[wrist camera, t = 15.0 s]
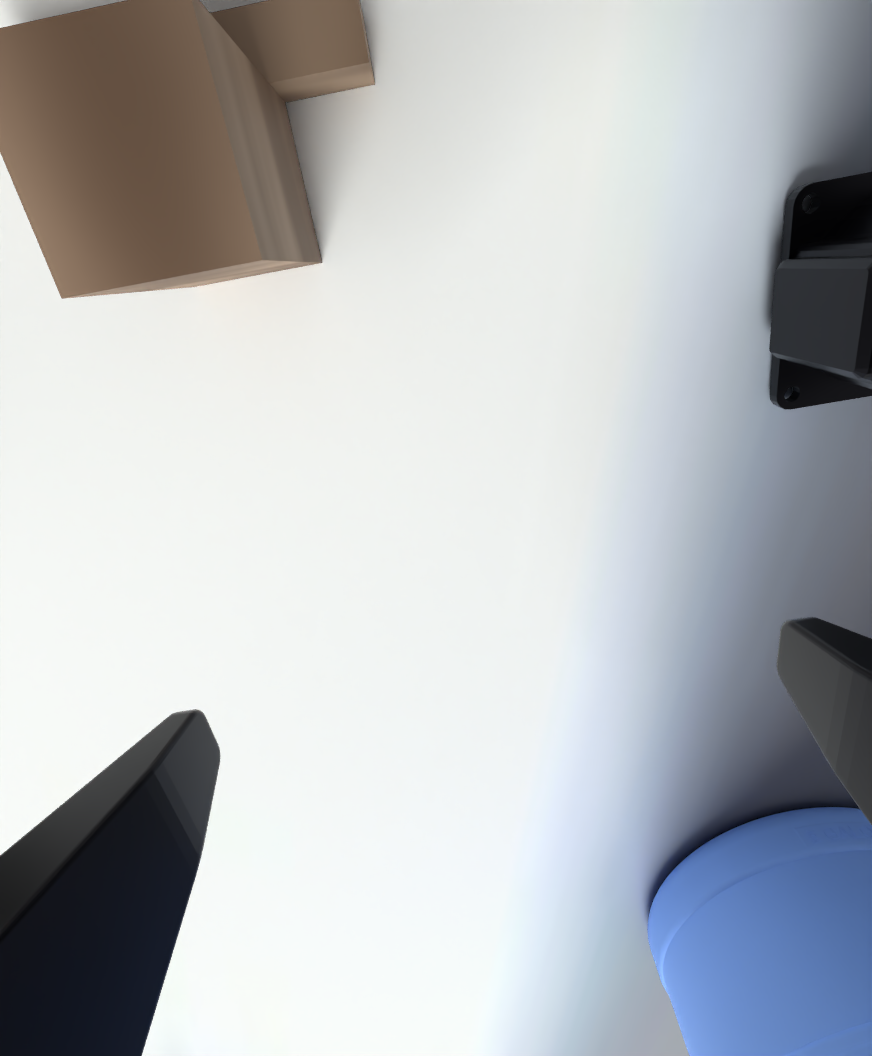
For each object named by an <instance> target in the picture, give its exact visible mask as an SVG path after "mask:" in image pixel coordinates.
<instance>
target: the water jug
mask: <svg viewBox="0 0 872 1056" xmlns="http://www.w3.org/2000/svg"><path fill="white" fill-rule="evenodd" d="M648 940H649V945H650V949H651V952H652V955H653V958H654V961H655V964H656V967H657V970H658V973H659V976H660V979H661V982H662V984H663V986H664V988H665V990H666V991H667V993H668V994H669V997H670V1000H671V1003H672V1006H673V1009H674V1012H675V1014H676V1017H677V1020H678V1023H679V1026H680V1029H681V1032H682V1035H683V1038H684V1041H685V1044H686V1047H687V1050H688V1053H689V1056H872V825H871V823H870V822H869V821H868V819H867V818H866V817H865V815H864V814H863V812H862V811H861V810H860V809H856V808H845V807H818V808H807V809H799V810H793V811H787V812H782V813H778V814H774V815H770V816H766V817H763V818H760V819H756V820H753V821H751V822H748V823H745V824H743V825H740V826H738V827H735V828H733V829H731V830H729V831H727V832H725V833H723V834H721V835H719V836H717V837H715V838H714V839H712V840H710V841H708V842H707V843H705V844H704V845H702V846H701V847H699V848H698V849H696V850H695V851H694V852H692V853H691V854H690V855H689V856H687V857H686V858H685V859H684V860H683V861H682V862H681V863H680V864H679V865H678V866H677V867H676V868H675V869H674V870H673V871H672V872H671V873H670V874H669V876H668V877H667V878H666V879H665V881H664V882H663V884H662V885H661V887H660V888H659V890H658V892H657V894H656V896H655V898H654V900H653V903H652V906H651V909H650V913H649V919H648Z"/></svg>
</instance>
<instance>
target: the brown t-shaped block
mask: <svg viewBox="0 0 872 1056" xmlns="http://www.w3.org/2000/svg"><path fill="white" fill-rule="evenodd" d="M374 84H375V81H374V75H373V70H372V64H371V58H370V52H369V47H368V41H367V35H366V29H365V24H364V18H363V12H362V8H361V4H360V0H268V1H263V2H259V3H254V4H249V5H245V6H240V7H236V8H231V9H226V10H222V11H217V12H212V13H209V11H208V10H207V9H206V8H205V7H204V5H203V4H202V3H201V2H200V1H199V0H126V1H122V2H117V3H113V4H108V5H104V6H99V7H94V8H90V9H85V10H81V11H76V12H72V13H67V14H62V15H58V16H53V17H49V18H44V19H40V20H35V21H30V22H26V23H21V24H17V25H12V26H8V27H3V28H0V153H1V155H2V157H3V160H4V162H5V164H6V167H7V169H8V172H9V174H10V176H11V179H12V181H13V184H14V186H15V188H16V191H17V193H18V195H19V198H20V200H21V203H22V205H23V207H24V210H25V212H26V214H27V217H28V219H29V222H30V224H31V226H32V229H33V231H34V234H35V236H36V238H37V241H38V243H39V245H40V248H41V250H42V253H43V255H44V257H45V260H46V262H47V265H48V267H49V269H50V272H51V274H52V276H53V279H54V281H55V284H56V286H57V288H58V291H59V293H60V295H61V298H62V299H63V298H74V297H85V296H97V295H108V294H119V293H131V292H142V291H153V290H165V289H176V288H187V287H197V286H202V285H207V284H212V283H218V282H223V281H228V280H234V279H239V278H244V277H249V276H255V275H260V274H265V273H270V272H276V271H281V270H286V269H291V268H297V267H302V266H307V265H313V264H318V263H322V259H321V255H320V251H319V246H318V242H317V238H316V234H315V229H314V225H313V221H312V216H311V212H310V208H309V203H308V199H307V195H306V190H305V186H304V182H303V177H302V173H301V169H300V164H299V160H298V156H297V151H296V147H295V143H294V138H293V134H292V130H291V126H290V121H289V117H288V113H287V108H286V104H285V103H286V102H291V101H296V100H301V99H306V98H311V97H316V96H320V95H325V94H330V93H335V92H340V91H345V90H350V89H355V88H359V87H364V86H369V85H374Z"/></svg>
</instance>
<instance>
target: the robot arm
mask: <svg viewBox="0 0 872 1056" xmlns="http://www.w3.org/2000/svg"><path fill="white" fill-rule="evenodd" d="M807 195H809V197H810V198H811V202H812V203H811V206H810V209H809V210H808V211H807V212H806V213H805V212H804V211H803V209H802V203H803V200H804V198H805V197H806V196H807ZM769 349H770V352H771V353H772V354H773V361H772V373H771V385H770V400H771V402H772V403H773V404H774V405H776V406H778V407H781V408H783V409H795V408H801V407H807V406H813V405H819V404H825V403H831V402H837V401H843V400H849V399H855V398H861V397H867V396H872V172H869V173H864V174H859V175H853V176H848V177H843V178H837V179H832V180H827V181H821V182H816V183H811V184H806V185H803V186H801V187H798V188H797V189H795V190H794V191H793V192H792V193H791V195H790V196H789V198H788V199H787V203H786V206H785V216H784V228H783V240H782V252H781V264H780V265H779V267H778V268H777V269H776V273H775V285H774V298H773V310H772V323H771V335H770V348H769ZM790 387H792V388H793V392H792V394H791V396H790V397H789V398H787V399H785V398H784V394H785V392H786V390H787V389H788V388H790ZM777 670H778V674H779V677H780V679H781V681H782V683H783V685H784V687H785V689H786V690H787V692H788V694H789V695H790V697H791V699H792V701H793V702H794V704H795V706H796V708H797V709H798V711H799V713H800V715H801V716H802V718H803V720H804V722H805V723H806V725H807V727H808V729H809V730H810V732H811V734H812V735H813V737H814V739H815V741H816V742H817V744H818V746H819V748H820V749H821V751H822V753H823V755H824V756H825V758H826V760H827V761H828V763H829V765H830V766H831V768H832V769H833V771H834V773H835V774H836V776H837V777H838V778H839V780H840V781H841V783H842V784H843V786H844V787H845V789H846V790H847V791H848V793H849V794H850V796H851V797H852V798H853V800H854V801H855V803H856V804H857V805H858V807H859V808H860V810H861V811H862V812H863V814H864V815H865V817H866V818H867V819H868V821H869V822H870V823H871V825H872V639H871V638H868V637H865V636H863V635H860V634H857V633H855V632H852V631H850V630H847V629H844V628H842V627H839V626H837V625H834V624H831V623H829V622H826V621H824V620H821V619H818V618H815V617H806V618H800V619H793V620H788V621H786V622H784V623H783V625H782V626H781V630H780V639H779V648H778V657H777ZM219 764H220V750H219V746H218V743H217V741H216V739H215V737H214V735H213V732H212V730H211V728H210V726H209V723H208V721H207V719H206V717H205V715H204V713H203V712H201V711H200V710H196V709H195V710H188V711H181V712H176V713H173V714H171V715H170V716H169V717H168V718H166V719H165V720H164V721H163V722H162V723H160V724H159V725H158V726H157V727H155V728H154V729H153V730H152V731H151V732H149V733H148V734H147V735H146V736H145V737H143V738H142V739H141V740H140V741H138V742H137V743H136V744H135V745H134V746H132V747H131V748H130V749H129V750H128V751H126V752H125V753H124V754H123V755H122V756H120V757H119V758H118V759H117V760H115V761H114V762H113V763H112V764H111V765H109V766H108V767H107V768H106V769H105V770H103V771H102V772H101V773H100V774H98V775H97V776H96V777H95V778H94V779H92V780H91V781H90V782H89V783H88V784H86V785H85V786H84V787H83V788H82V789H80V790H79V791H78V792H77V793H75V794H74V795H73V796H72V797H71V798H69V799H68V800H67V801H66V802H65V803H63V804H62V805H61V806H60V807H59V808H57V809H56V810H55V811H54V812H52V813H51V814H50V815H49V816H48V817H46V818H45V819H44V820H43V821H42V822H40V823H39V824H38V825H37V826H35V827H34V828H33V829H32V830H31V831H29V832H28V833H27V834H26V835H25V836H23V837H22V838H21V839H20V840H19V841H17V842H16V843H15V844H14V845H12V846H11V847H10V848H9V849H8V850H6V851H5V852H4V853H3V854H2V855H0V1056H142V1053H143V1049H144V1046H145V1043H146V1039H147V1036H148V1033H149V1030H150V1026H151V1023H152V1020H153V1016H154V1013H155V1010H156V1006H157V1003H158V1000H159V996H160V993H161V990H162V986H163V983H164V980H165V976H166V973H167V970H168V967H169V963H170V960H171V957H172V953H173V950H174V947H175V943H176V940H177V937H178V933H179V930H180V927H181V923H182V920H183V917H184V913H185V910H186V907H187V904H188V900H189V897H190V894H191V890H192V887H193V884H194V880H195V877H196V873H197V870H198V866H199V863H200V859H201V855H202V850H203V846H204V841H205V836H206V831H207V826H208V821H209V816H210V810H211V805H212V800H213V795H214V790H215V785H216V780H217V775H218V769H219Z"/></svg>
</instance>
